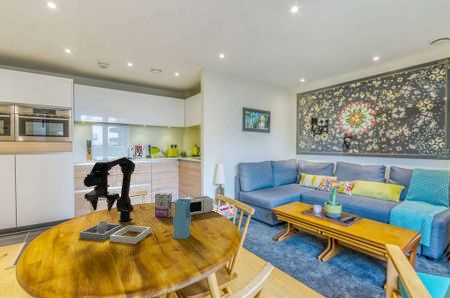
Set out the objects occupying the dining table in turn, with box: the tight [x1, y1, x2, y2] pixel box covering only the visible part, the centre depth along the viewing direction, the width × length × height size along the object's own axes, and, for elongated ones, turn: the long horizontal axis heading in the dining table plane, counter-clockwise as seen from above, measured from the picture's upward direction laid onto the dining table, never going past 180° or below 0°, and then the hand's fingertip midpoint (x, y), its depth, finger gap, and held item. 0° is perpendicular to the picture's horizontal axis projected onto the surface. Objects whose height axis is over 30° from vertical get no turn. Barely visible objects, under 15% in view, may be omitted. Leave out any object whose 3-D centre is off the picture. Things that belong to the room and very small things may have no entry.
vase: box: [172, 198, 192, 240], centre depth 121 cm, size 8×8×20 cm
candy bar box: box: [154, 192, 173, 219], centre depth 153 cm, size 11×5×16 cm, turn 73°
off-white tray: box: [109, 224, 152, 245], centre depth 119 cm, size 15×15×3 cm
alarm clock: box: [178, 195, 214, 216], centre depth 161 cm, size 27×9×12 cm, turn 118°
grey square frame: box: [79, 222, 123, 241], centre depth 123 cm, size 15×15×3 cm
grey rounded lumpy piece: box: [95, 220, 108, 234], centre depth 123 cm, size 6×7×7 cm
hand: (102, 211), depth 123 cm, fingers open, 9 cm apart
